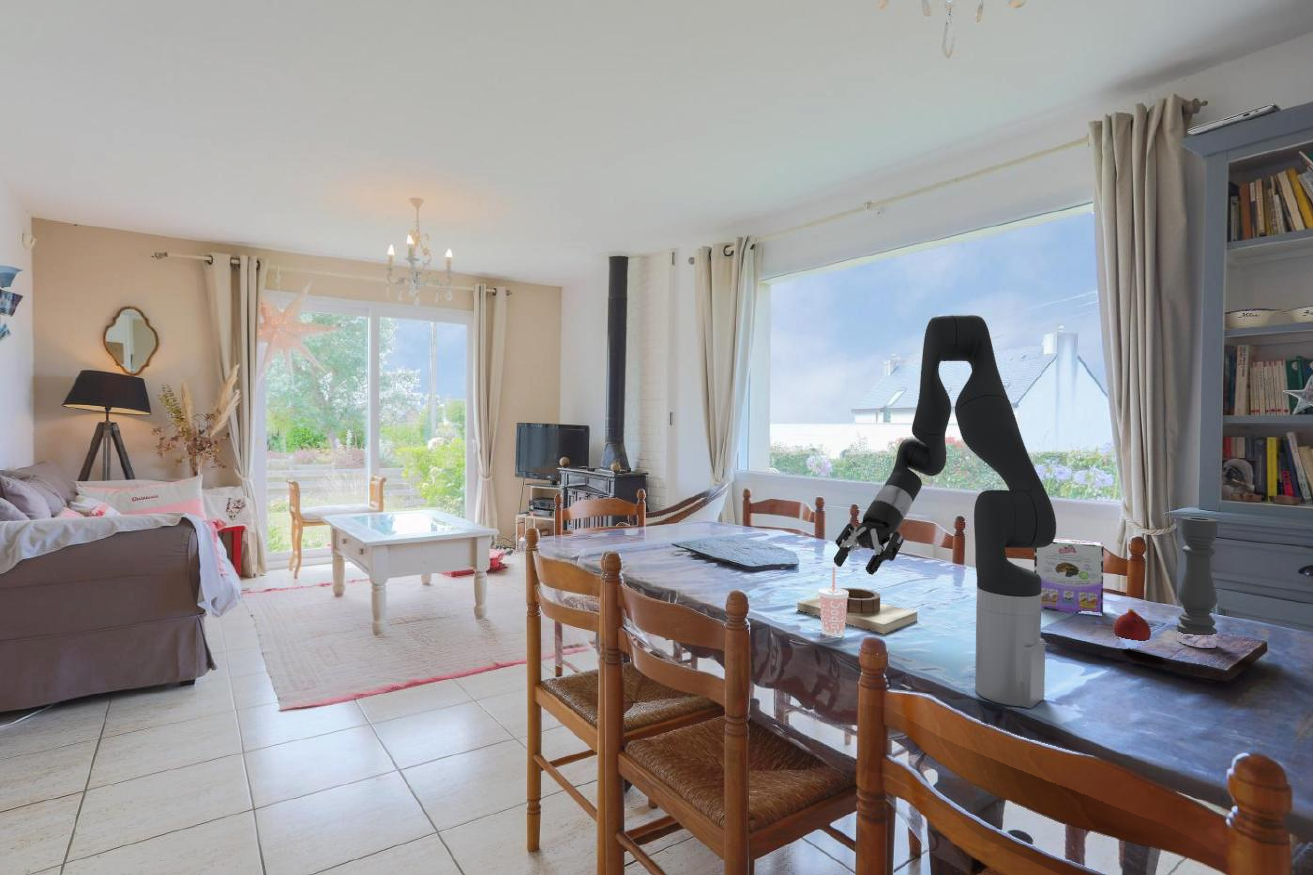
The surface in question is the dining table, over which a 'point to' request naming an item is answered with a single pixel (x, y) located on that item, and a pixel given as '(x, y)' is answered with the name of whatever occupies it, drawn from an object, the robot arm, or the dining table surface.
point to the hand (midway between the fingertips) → (852, 568)
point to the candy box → (1071, 575)
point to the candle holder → (1198, 576)
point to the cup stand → (866, 611)
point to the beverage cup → (833, 609)
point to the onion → (1132, 627)
